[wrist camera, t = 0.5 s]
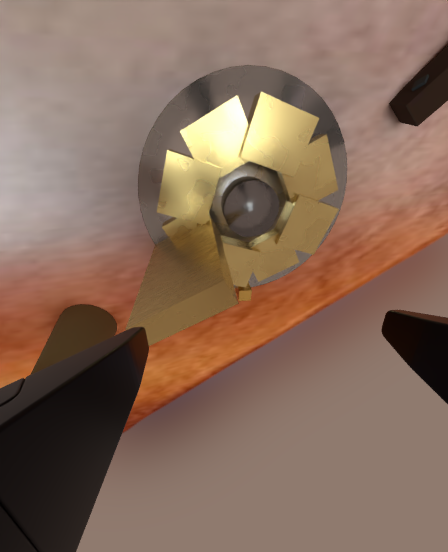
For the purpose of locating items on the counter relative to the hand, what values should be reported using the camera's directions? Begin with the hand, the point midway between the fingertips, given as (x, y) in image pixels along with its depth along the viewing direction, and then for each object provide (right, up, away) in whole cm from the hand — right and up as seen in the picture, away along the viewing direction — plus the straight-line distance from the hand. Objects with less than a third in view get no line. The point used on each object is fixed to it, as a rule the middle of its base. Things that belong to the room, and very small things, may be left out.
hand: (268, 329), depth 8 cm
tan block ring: (0, +8, +11) cm, 13 cm away
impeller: (0, +9, +12) cm, 15 cm away
